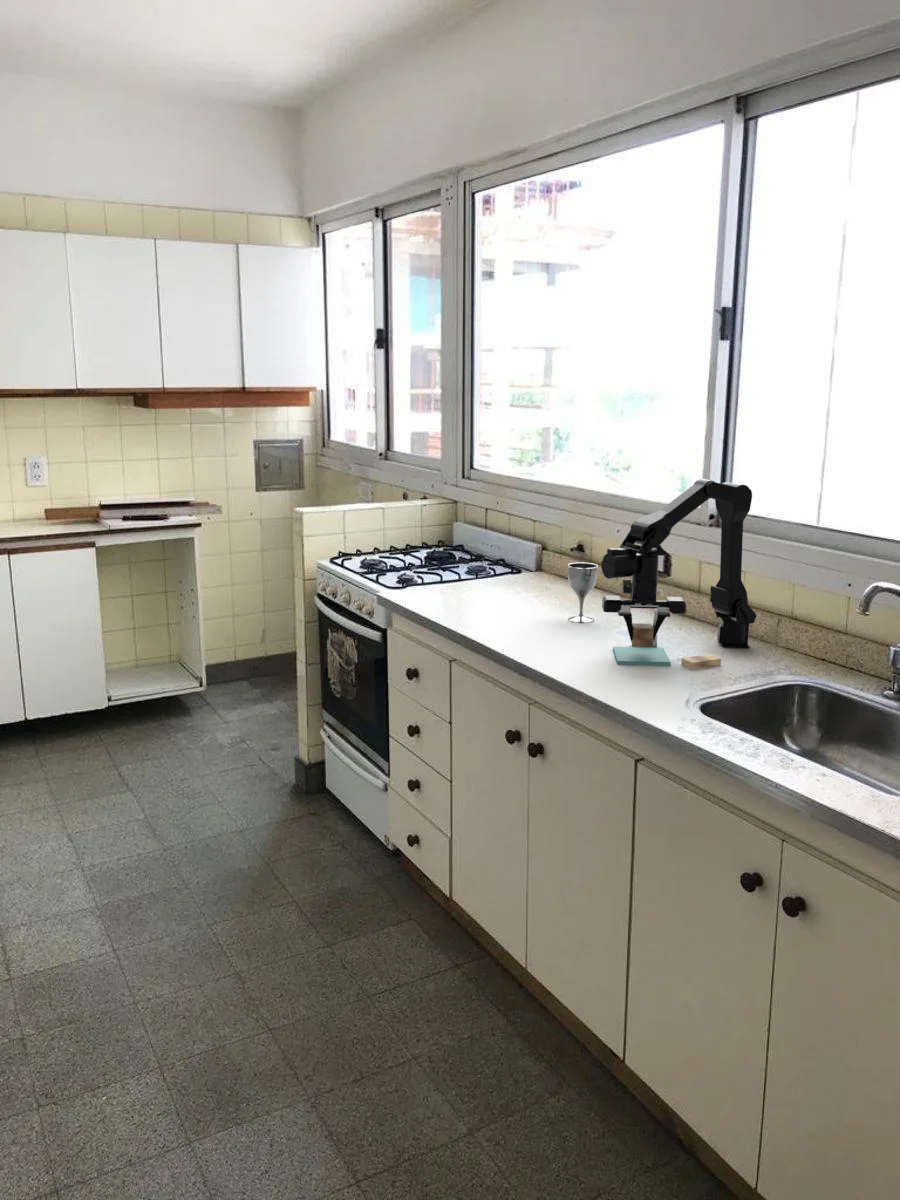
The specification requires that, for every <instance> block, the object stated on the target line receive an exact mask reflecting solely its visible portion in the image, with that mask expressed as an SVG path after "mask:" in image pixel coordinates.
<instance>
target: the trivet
mask: <svg viewBox="0 0 900 1200" xmlns="http://www.w3.org/2000/svg"><path fill="white" fill-rule="evenodd" d="M612 652H613V655H614V657H615V661H616V663H617V665H632V666H634V665H639V666H640V665H641V666H671V665H672V662H671V660H670V657H669V656H668V654H667V652H666V650H665V648H664V647H657V648H655V647H632V646H612Z"/></svg>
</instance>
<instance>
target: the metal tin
mask: <svg viewBox="0 0 900 1200" xmlns="http://www.w3.org/2000/svg"><path fill="white" fill-rule="evenodd" d="M631 647H633V645H632V644H631ZM653 647H655V648H658V633H657V634H656V637H655V639H654V641H653Z"/></svg>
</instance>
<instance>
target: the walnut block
mask: <svg viewBox="0 0 900 1200" xmlns="http://www.w3.org/2000/svg"><path fill="white" fill-rule="evenodd" d="M632 626H633V640H632V641H631V640H630V643H631V646H632V645H633V647H653V632H654V628H653V623H639V622H637V623H636V622H635V623H634V622H632Z"/></svg>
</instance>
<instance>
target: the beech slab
mask: <svg viewBox="0 0 900 1200" xmlns="http://www.w3.org/2000/svg"><path fill="white" fill-rule="evenodd" d="M680 664H681V666H682V667H683V666H684V668H688V669H689V670H698V669H706V668H712V667H720V666H722V658H720V657H719V656H718V657H717V656H715V655H713V654H711V653H710V654H702V655H701V654H700V655H695V656H694V655H693V656H687V657H681V660H680Z"/></svg>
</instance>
